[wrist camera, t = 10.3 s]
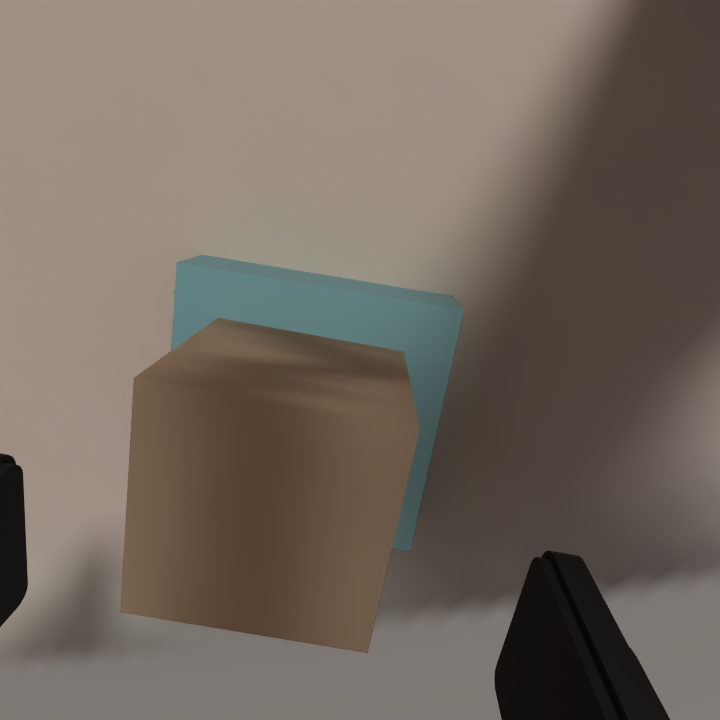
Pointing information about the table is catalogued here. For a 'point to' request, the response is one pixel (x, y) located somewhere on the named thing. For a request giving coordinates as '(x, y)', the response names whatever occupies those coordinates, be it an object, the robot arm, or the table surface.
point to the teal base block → (335, 332)
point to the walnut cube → (267, 483)
